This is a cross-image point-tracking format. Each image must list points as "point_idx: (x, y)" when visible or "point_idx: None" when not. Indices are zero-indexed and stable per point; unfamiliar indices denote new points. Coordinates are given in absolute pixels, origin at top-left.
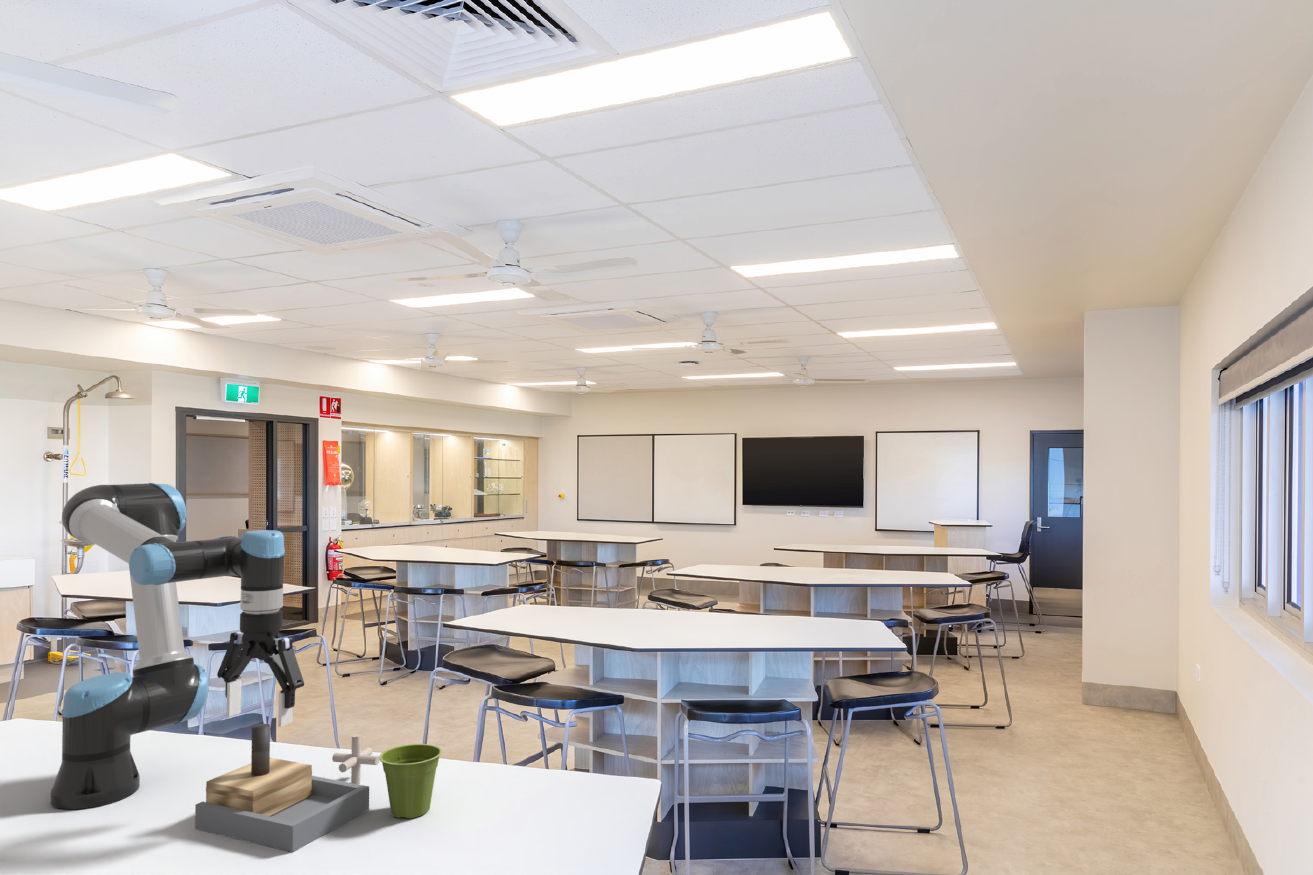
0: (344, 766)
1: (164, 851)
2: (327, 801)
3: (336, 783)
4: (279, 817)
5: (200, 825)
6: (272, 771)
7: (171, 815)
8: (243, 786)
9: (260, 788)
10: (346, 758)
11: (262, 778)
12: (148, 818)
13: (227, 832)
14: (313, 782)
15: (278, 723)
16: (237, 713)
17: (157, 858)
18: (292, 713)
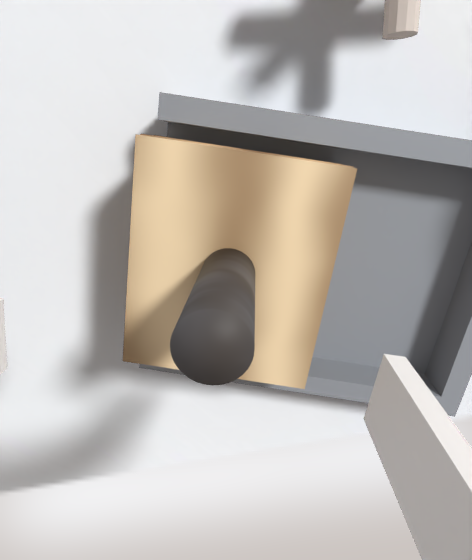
0: (410, 33)
1: (178, 422)
2: (399, 179)
3: (434, 157)
4: (328, 293)
5: None
6: (258, 254)
7: (45, 296)
8: (253, 368)
9: (309, 366)
10: None
11: (266, 309)
12: (12, 319)
13: None
14: (338, 147)
15: (369, 428)
16: (2, 320)
17: (189, 444)
18: (428, 388)
